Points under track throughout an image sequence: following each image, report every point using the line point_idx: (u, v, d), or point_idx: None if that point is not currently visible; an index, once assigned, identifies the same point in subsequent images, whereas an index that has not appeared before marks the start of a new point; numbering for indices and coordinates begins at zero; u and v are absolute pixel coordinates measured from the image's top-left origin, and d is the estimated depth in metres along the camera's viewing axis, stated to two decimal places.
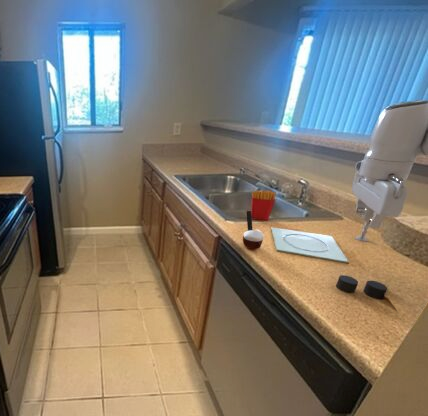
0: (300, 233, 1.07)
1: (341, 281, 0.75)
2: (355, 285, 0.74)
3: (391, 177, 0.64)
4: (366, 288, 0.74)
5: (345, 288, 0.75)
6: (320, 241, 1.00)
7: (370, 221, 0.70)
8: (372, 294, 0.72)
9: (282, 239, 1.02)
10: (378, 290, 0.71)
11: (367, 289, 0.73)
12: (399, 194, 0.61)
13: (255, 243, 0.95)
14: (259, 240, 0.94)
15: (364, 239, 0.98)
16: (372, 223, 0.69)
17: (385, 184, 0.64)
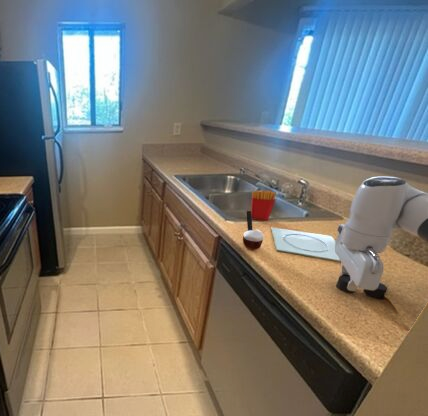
0: (300, 233, 1.07)
1: (341, 281, 0.75)
2: None
3: (369, 251, 0.66)
4: None
5: (345, 288, 0.75)
6: (320, 241, 1.00)
7: (347, 284, 0.73)
8: (372, 294, 0.72)
9: (282, 239, 1.02)
10: (378, 290, 0.71)
11: None
12: (375, 271, 0.63)
13: (255, 243, 0.95)
14: (259, 240, 0.94)
15: None
16: (349, 286, 0.73)
17: (363, 258, 0.66)
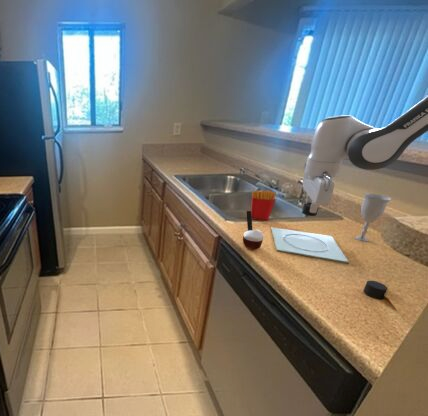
0: (300, 233, 1.07)
1: (305, 207, 0.91)
2: None
3: (324, 174, 0.82)
4: (366, 288, 0.74)
5: (308, 212, 0.91)
6: (320, 241, 1.00)
7: (310, 207, 0.90)
8: (372, 294, 0.72)
9: (282, 239, 1.02)
10: (378, 290, 0.71)
11: (367, 289, 0.73)
12: (328, 187, 0.79)
13: (255, 243, 0.95)
14: (259, 240, 0.94)
15: (364, 239, 0.98)
16: (311, 209, 0.89)
17: (319, 180, 0.82)
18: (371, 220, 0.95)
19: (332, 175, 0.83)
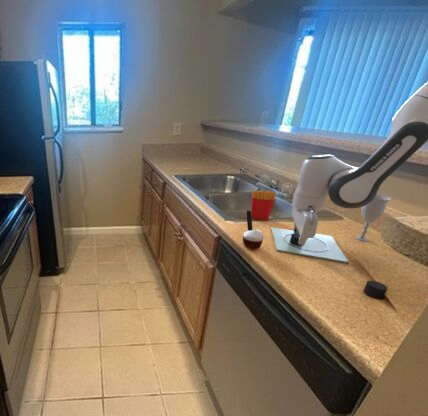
0: None
1: (293, 237, 0.98)
2: None
3: (309, 209, 0.89)
4: (366, 288, 0.74)
5: (295, 242, 0.98)
6: (320, 241, 1.00)
7: (298, 239, 0.95)
8: (372, 294, 0.72)
9: (282, 239, 1.02)
10: (378, 290, 0.71)
11: (367, 289, 0.73)
12: (312, 222, 0.86)
13: (255, 243, 0.95)
14: (259, 240, 0.94)
15: (364, 239, 0.98)
16: (299, 241, 0.94)
17: (304, 214, 0.89)
18: (371, 220, 0.95)
19: (317, 209, 0.90)
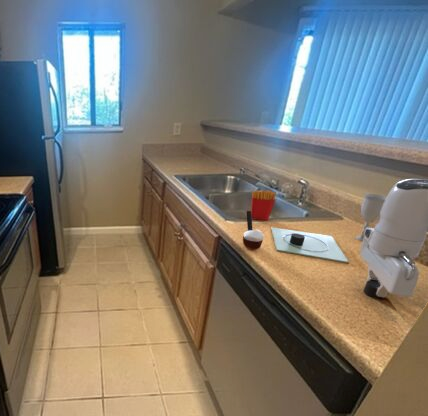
0: (300, 233, 1.07)
1: (293, 237, 0.98)
2: (302, 239, 0.97)
3: (402, 256, 0.64)
4: (366, 288, 0.74)
5: (295, 242, 0.98)
6: (320, 241, 1.00)
7: (377, 289, 0.71)
8: (372, 294, 0.72)
9: (282, 239, 1.02)
10: None
11: (367, 289, 0.73)
12: (411, 277, 0.61)
13: (255, 243, 0.95)
14: (259, 240, 0.94)
15: None
16: (379, 292, 0.70)
17: (396, 264, 0.63)
18: (371, 220, 0.95)
19: (412, 256, 0.65)
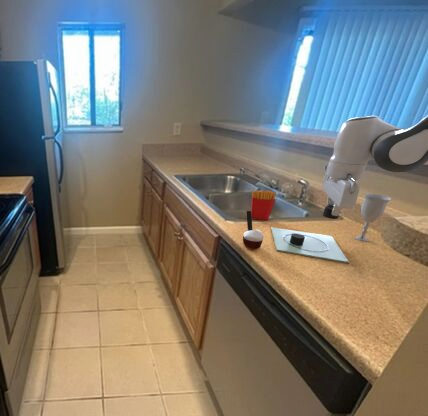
0: (300, 233, 1.07)
1: (293, 237, 0.98)
2: (302, 239, 0.97)
3: (348, 176, 0.80)
4: (324, 211, 0.90)
5: (295, 242, 0.98)
6: (320, 241, 1.00)
7: (332, 210, 0.88)
8: (328, 215, 0.89)
9: (282, 239, 1.02)
10: None
11: (325, 212, 0.90)
12: (353, 190, 0.77)
13: (255, 243, 0.95)
14: (259, 240, 0.94)
15: (364, 239, 0.98)
16: (333, 212, 0.87)
17: (343, 182, 0.80)
18: (371, 220, 0.95)
19: (356, 177, 0.81)
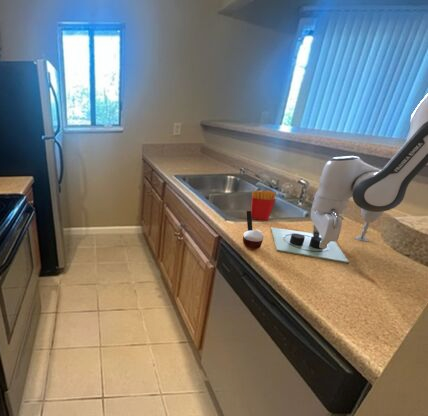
0: (300, 233, 1.07)
1: (293, 237, 0.98)
2: (302, 239, 0.97)
3: (332, 212, 0.87)
4: (310, 242, 0.97)
5: (295, 242, 0.98)
6: None
7: (319, 243, 0.92)
8: (314, 245, 0.96)
9: (282, 239, 1.02)
10: (318, 242, 0.95)
11: (311, 242, 0.97)
12: (336, 225, 0.84)
13: (255, 243, 0.95)
14: (259, 240, 0.94)
15: (364, 239, 0.98)
16: (321, 245, 0.92)
17: (327, 217, 0.86)
18: (371, 220, 0.95)
19: (339, 212, 0.88)
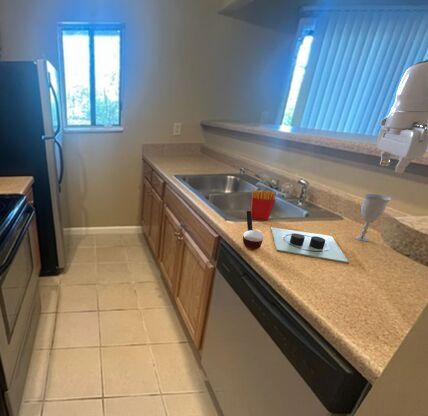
0: (300, 233, 1.07)
1: (293, 237, 0.98)
2: (302, 239, 0.97)
3: (415, 125, 0.75)
4: (310, 242, 0.97)
5: (295, 242, 0.98)
6: None
7: (395, 167, 0.80)
8: (314, 245, 0.96)
9: (282, 239, 1.02)
10: (318, 242, 0.95)
11: (311, 242, 0.97)
12: (423, 137, 0.72)
13: (255, 243, 0.95)
14: (259, 240, 0.94)
15: (364, 239, 0.98)
16: (397, 168, 0.79)
17: (410, 131, 0.74)
18: (371, 220, 0.95)
19: None
